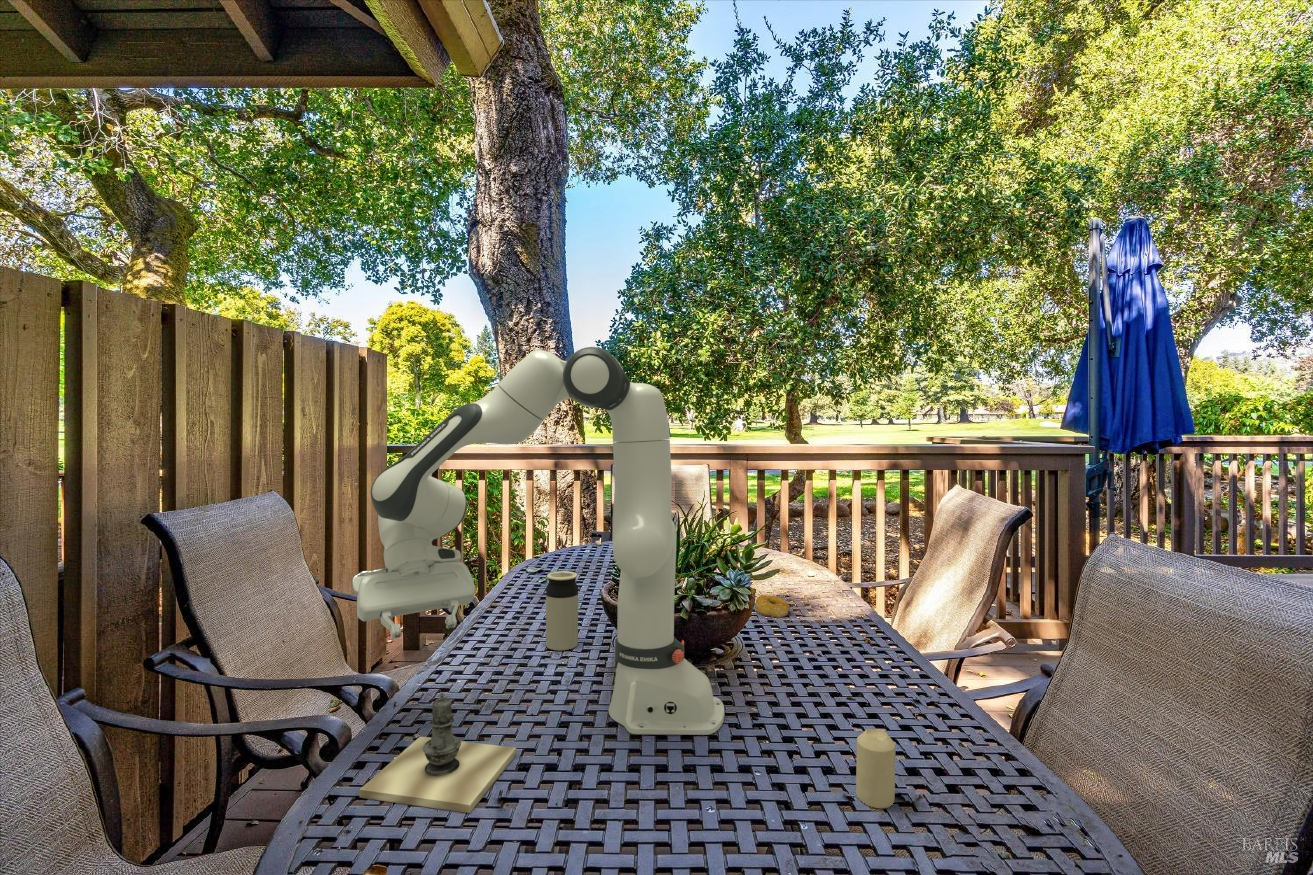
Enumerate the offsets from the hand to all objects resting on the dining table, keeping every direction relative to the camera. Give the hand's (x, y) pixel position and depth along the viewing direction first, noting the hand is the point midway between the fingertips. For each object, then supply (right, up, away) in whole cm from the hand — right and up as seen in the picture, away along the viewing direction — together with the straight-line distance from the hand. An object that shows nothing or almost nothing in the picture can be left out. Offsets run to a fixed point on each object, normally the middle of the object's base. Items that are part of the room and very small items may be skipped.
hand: (424, 631), depth 110 cm
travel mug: (+17, -18, +47) cm, 53 cm away
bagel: (+75, -18, +75) cm, 108 cm away
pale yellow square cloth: (+7, -20, -10) cm, 23 cm away
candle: (+74, -21, -15) cm, 78 cm away
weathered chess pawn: (+7, -19, -10) cm, 22 cm away
